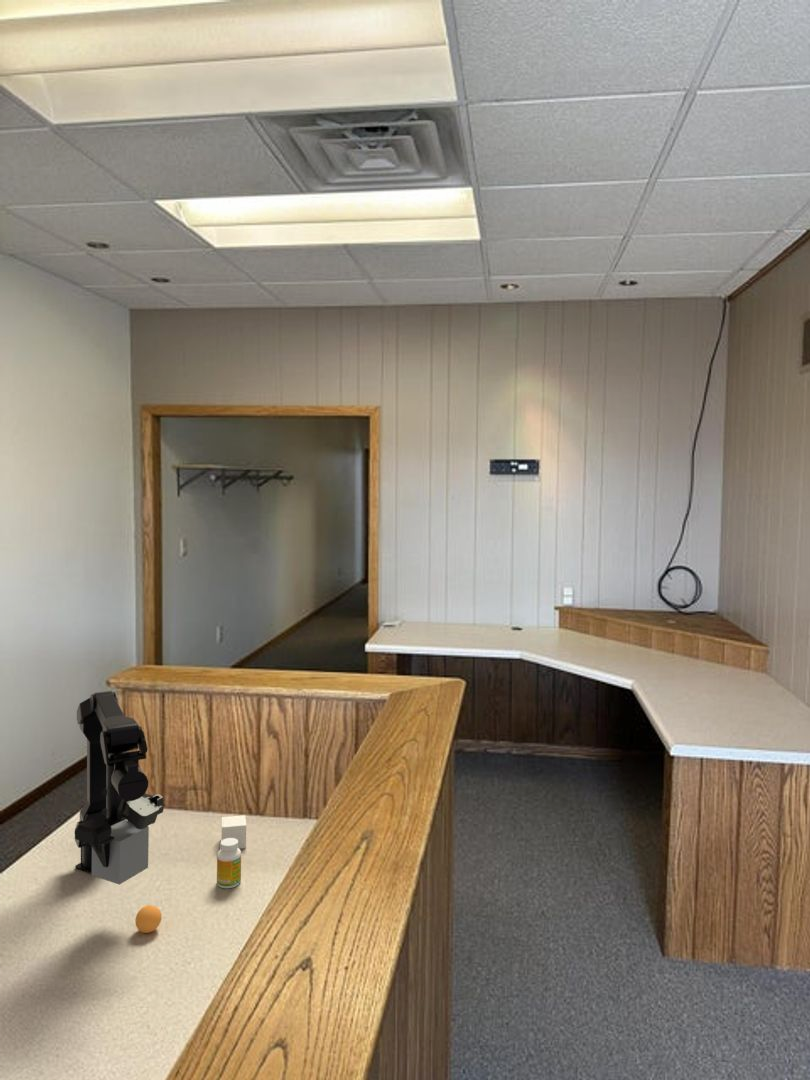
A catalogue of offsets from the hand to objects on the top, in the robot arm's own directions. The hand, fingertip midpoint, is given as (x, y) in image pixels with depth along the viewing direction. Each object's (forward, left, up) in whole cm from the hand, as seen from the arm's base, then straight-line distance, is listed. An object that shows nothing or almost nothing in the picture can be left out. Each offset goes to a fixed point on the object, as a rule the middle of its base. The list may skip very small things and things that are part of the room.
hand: (121, 858), depth 149 cm
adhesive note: (-1, +38, -14) cm, 41 cm away
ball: (+8, 0, -11) cm, 13 cm away
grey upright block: (0, 0, -3) cm, 3 cm away
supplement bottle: (+10, +22, -14) cm, 28 cm away
